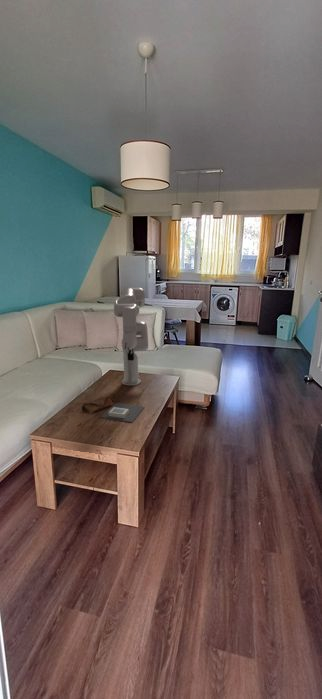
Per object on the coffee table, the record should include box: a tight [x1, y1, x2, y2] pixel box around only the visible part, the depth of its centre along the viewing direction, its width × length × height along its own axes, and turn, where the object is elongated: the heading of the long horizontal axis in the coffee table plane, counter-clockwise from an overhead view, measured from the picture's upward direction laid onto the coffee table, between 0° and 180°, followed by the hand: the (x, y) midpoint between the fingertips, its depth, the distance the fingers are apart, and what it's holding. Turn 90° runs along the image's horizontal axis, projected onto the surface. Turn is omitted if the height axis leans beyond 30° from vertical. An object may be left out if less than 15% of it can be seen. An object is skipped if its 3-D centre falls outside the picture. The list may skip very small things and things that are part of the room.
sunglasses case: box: [81, 396, 115, 415], centre depth 186 cm, size 18×7×7 cm
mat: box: [100, 402, 145, 424], centre depth 179 cm, size 18×18×1 cm
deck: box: [108, 407, 129, 418], centre depth 175 cm, size 2×9×6 cm
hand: (130, 359), depth 187 cm, fingers closed
